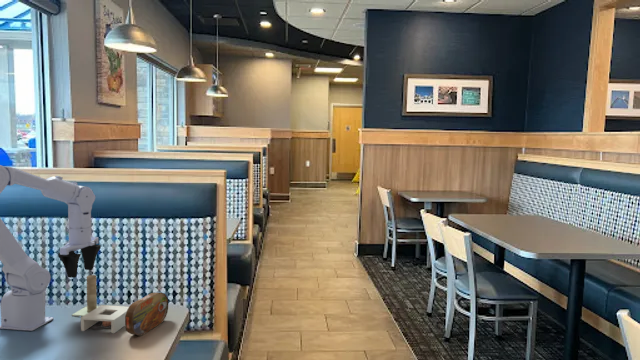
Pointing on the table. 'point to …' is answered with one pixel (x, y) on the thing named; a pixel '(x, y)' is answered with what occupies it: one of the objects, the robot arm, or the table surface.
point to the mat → (81, 312)
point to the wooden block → (91, 293)
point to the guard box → (105, 317)
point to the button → (106, 323)
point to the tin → (146, 313)
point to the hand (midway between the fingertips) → (80, 273)
